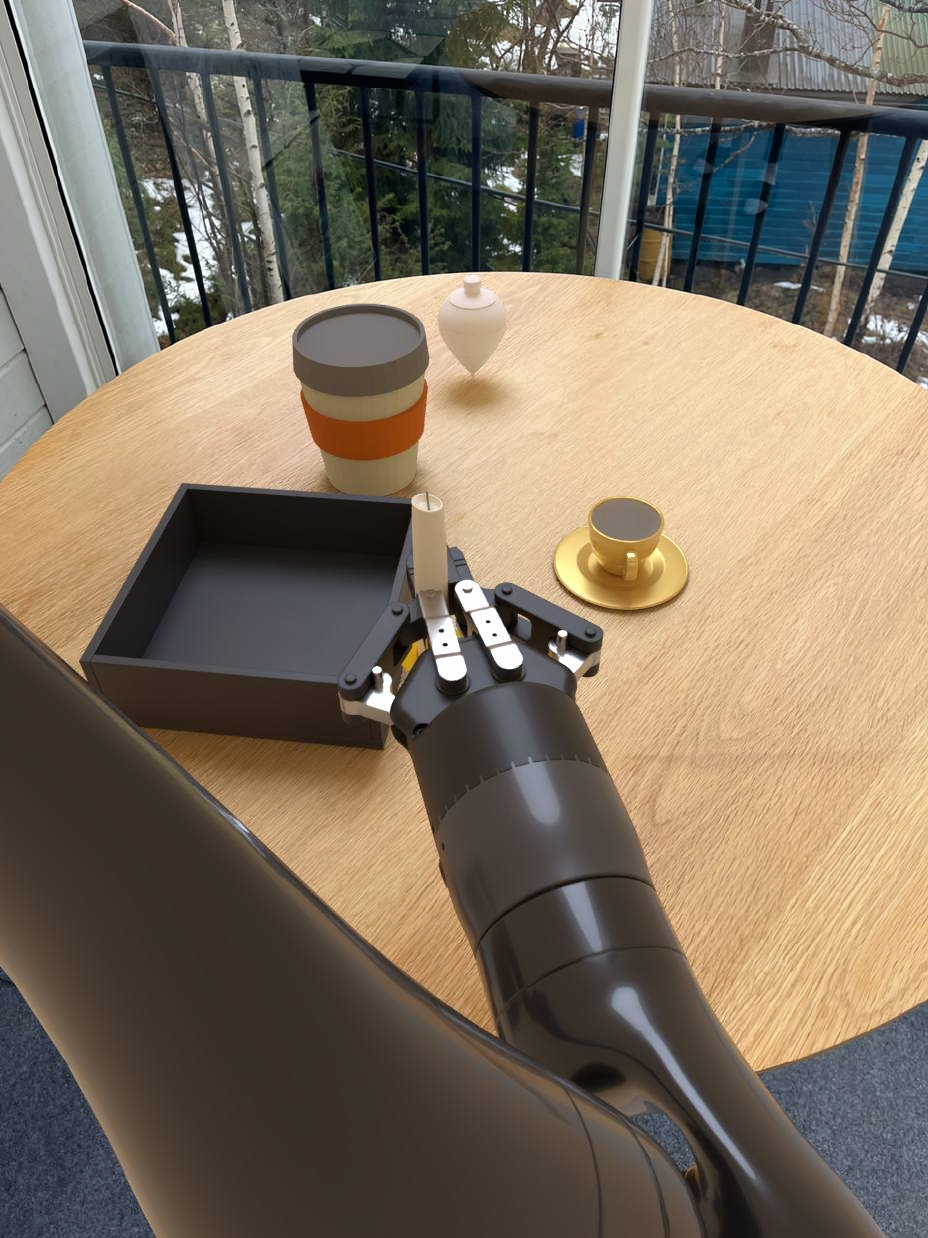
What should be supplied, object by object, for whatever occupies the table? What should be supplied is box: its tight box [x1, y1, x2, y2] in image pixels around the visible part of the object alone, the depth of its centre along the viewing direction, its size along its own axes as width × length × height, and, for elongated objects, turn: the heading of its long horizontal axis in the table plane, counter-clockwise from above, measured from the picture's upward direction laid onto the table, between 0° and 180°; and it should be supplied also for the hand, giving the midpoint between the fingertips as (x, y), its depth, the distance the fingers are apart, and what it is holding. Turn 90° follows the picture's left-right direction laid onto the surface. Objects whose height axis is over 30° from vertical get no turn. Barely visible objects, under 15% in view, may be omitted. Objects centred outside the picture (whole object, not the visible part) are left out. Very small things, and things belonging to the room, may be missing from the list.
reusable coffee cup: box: [291, 303, 430, 497], centre depth 90 cm, size 12×13×15 cm
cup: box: [552, 495, 690, 611], centre depth 82 cm, size 12×12×5 cm
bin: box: [78, 482, 413, 751], centre depth 76 cm, size 22×22×7 cm
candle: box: [401, 491, 462, 673], centre depth 48 cm, size 5×5×16 cm
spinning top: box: [437, 275, 509, 381], centre depth 104 cm, size 8×8×12 cm
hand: (429, 554), depth 49 cm, fingers closed
